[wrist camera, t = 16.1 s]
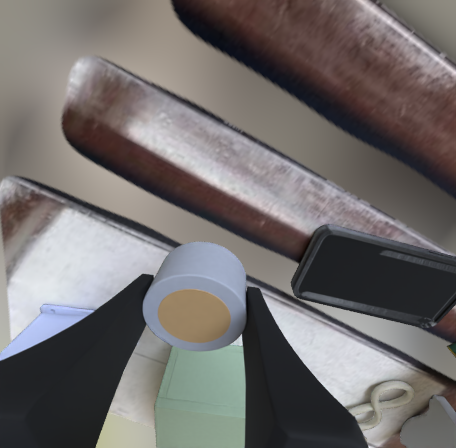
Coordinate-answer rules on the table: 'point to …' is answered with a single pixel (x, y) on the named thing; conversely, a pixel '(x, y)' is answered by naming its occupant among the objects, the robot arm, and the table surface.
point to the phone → (376, 277)
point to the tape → (198, 298)
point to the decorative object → (382, 405)
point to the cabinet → (202, 400)
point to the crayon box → (452, 348)
